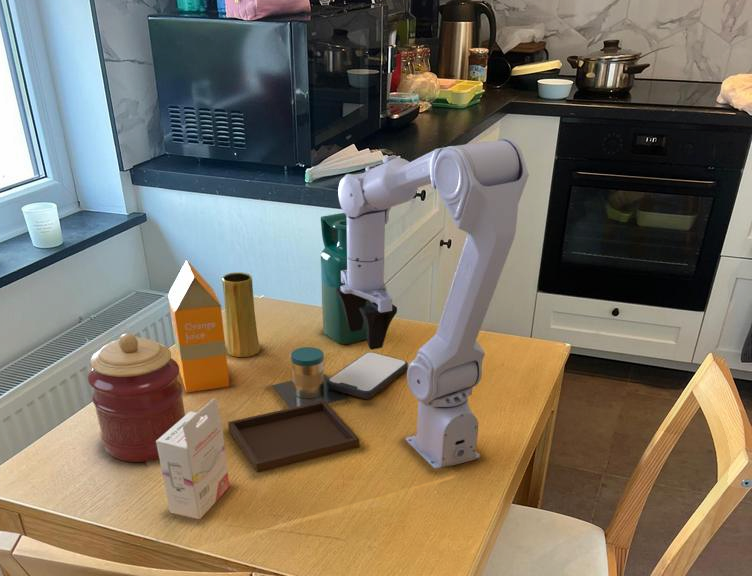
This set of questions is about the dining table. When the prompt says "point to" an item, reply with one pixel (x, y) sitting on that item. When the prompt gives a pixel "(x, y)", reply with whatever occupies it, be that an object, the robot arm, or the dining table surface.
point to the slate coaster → (293, 401)
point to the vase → (240, 315)
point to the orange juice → (198, 332)
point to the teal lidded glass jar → (308, 372)
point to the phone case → (367, 375)
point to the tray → (292, 435)
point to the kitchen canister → (135, 396)
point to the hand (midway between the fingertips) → (365, 339)
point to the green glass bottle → (336, 280)
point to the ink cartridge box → (194, 462)
